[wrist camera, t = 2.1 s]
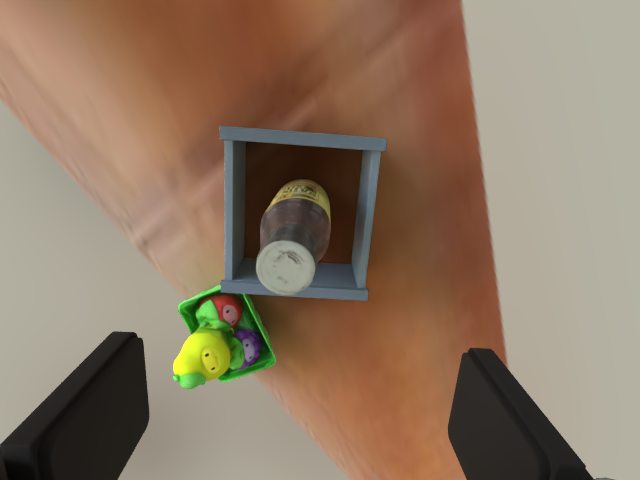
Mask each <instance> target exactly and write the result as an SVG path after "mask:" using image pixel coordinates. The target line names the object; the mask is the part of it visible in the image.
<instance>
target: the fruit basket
mask: <svg viewBox="0 0 640 480" xmlns="http://www.w3.org/2000/svg"><path fill="white" fill-rule="evenodd" d="M178 311H179V313H180V315H181V316H182V318H183V320H184V321H185V323H186V325H187V327H188V328H189V330H190V332H191V334H192V335H191V336H190V337H189V338H188V339H187V340H186V342H185V343H184V345H183V347H182V350H181V352H180V354H179V355H178V357H177V358H176V359H175V361H174V366H173V368H174V373H175V375H174V377H173V379H174V380H175V381H176V382H178V381H179V383H180V385H181V386H182V387H183V388H186V389H192V388H194V387H197V386H198V385H202V384H205V382H206V381H209V380H212V379H216V378H217V379H218V380H219V381H221V382H227V381H230V380H233V379H236V378H239V377H242V376H245V375H248V374H251V373H254V372H257V371H260V370H263V369H266V368H268V367H271V366H273V365H274V364H275V363H276V357H275V354H274V351H273V349H272V346H271V342H270V338H269V334H268V332H267V330H266V328H265V327H264V326H263V325H262V320H261V318H260V316H259V314H258V312H257V311H256V310H255V309H254V304H253V302H252V300H251V298H250V296H249V294H239V293H222V292H221V286H220V285H218V286H215V287H213V288H212V289H210V290H205V291H203V292H201V293H199V294H198V295H196V296H194V297H192V298H189V299H187V300H185V301H183V302H182V303H180V304H179V306H178Z"/></svg>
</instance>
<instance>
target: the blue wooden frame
mask: <svg viewBox="0 0 640 480" xmlns="http://www.w3.org/2000/svg"><path fill="white" fill-rule="evenodd" d="M220 139H222V140H225V280H221V282H220V286H221V292H222V293H239V294H256V295H273V296H291V297H308V298H325V299H342V300H359V301H367V300H368V293H369V291H368V289H367V288H365V284H366V276H367V267H368V259H369V250H370V242H371V233H372V225H373V217H374V208H375V200H376V191H377V183H378V174H379V166H380V157H381V151H383V152H385V151H386V144H387V138H378V137H365V136H351V135H338V134H325V133H312V132H299V131H286V130H273V129H259V128H246V127H233V126H220ZM246 141H248V142H262V143H275V144H289V145H302V146H316V147H329V148H342V149H356V150H363V154H362V164H361V173H360V183H359V192H358V202H357V212H356V221H355V231H354V240H353V250H352V260H351V264H340V263H324V262H317V269H316V273H315V277H314V279H313V281H312V283H311V284H310V286H309V287H308V288H307V289H305V290H303V291H301V292H299V293H297V294H295V295H280V294H276V293H274V292H271V291H270V290H268V289H267V288H266V287H264V286H263V284H262V283H261V282H260V280H259V279H258V276H257V272H256V260H257V258H244V241H245V174H246Z"/></svg>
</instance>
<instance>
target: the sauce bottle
mask: <svg viewBox="0 0 640 480" xmlns="http://www.w3.org/2000/svg"><path fill="white" fill-rule="evenodd" d="M330 233H331V223H330V202H329V198H328V196H327V194H326V192H325V190H324V189H323V188H322V187H321V186H320V185H319V184H317V183H315V182H314V181H313V180H307V179H297V180H293V181H291V182H289V183H287V184H285V185H284V186H283V187H282V188H281V189H280V190H279V192H278V193H277V195H276V196H275V198H274V199H273V201H272V202H271V204H270V206H269V207H268V208H267V210H266V211H265V213H264V215H263V217H262V220H261V225H260V251H259V253H258V256H257V260H256V272H257V276H258V279H259V280H260V282H261V283H262V284H263V286H264V287H266V288H267V289H268V290H270V291H271V292H274V293H276V294H280V295H295V294H297V293H299V292H301V291H303V290H305V289H307V288H308V287H309V286H310V284H311V283H312V281H313V279H314V277H315V273H316V269H317V262H318V261H320V259H321V258H322V257H323V256H324V254H325V252H326V250H327V248H328V246H329V240H330Z"/></svg>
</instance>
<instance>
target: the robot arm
mask: <svg viewBox="0 0 640 480" xmlns="http://www.w3.org/2000/svg"><path fill="white" fill-rule="evenodd" d="M148 421H149V404H148V393H147V381H146V369H145V358H144V346H143V340H142V338H138V337H137V334H136V333H134V332H112V333H111V334H110V335H109V336H108V337H107V338H106V339H105V340H104V341H103V342H102V343H101V344H100V345H99V346H98V347H97V348H96V349H95V350H94V351H93V352H92V353H91V354H90V355H89V356H88V357H87V358H86V359H85V360H84V361H83V362H82V363H81V364H80V365H79V366H78V367H77V368H76V369H75V370H74V371H73V372H72V373H71V374H70V375H69V376H68V377H67V378H66V379H65V380H64V381H63V382H62V383H61V384H60V385H59V386H58V387H57V388H56V389H55V390H54V391H53V392H52V393H51V394H50V395H49V396H48V397H47V398H46V399H45V400H44V401H43V402H42V403H41V404H40V405H39V406H38V407H37V408H36V409H35V410H34V411H33V412H32V413H31V414H30V415H29V416H28V417H27V418H26V420H24V421H23V422H22V424H20V425H19V426H18V427H17V428H16V429H15V430H14V431H13V432H12V433H11V434H10V435H9V436H8V437H7V438H6V439H5V440H4V441H3V442H2V443H1V444H0V480H118V478H119V476H120V474H121V472H122V471H123V469H124V467H125V465H126V463H127V461H128V460H129V458H130V456H131V455H132V453H133V451H134V449H135V447H136V446H137V444H138V442H139V440H140V439H141V437H142V435H143V433H144V431H145V430H146V427H147V425H148ZM448 435H449V439H450V442H451V444H452V446H453V449H454V451H455V453H456V456H457V458H458V460H459V463H460V465H461V467H462V469H463V472H464V474H465V476H466V479H467V480H614V479H609V478H596V479H593V478H592V477H591V475H590V474H589V473H588V471H587V470H586V469H585V467H586V466H585V464H584V463H583V462H582V461H581V459H580V458H579V457H578V456H577V454H575V452H574V451H573V450H572V448H571V447H570V446H569V445H568V443H567V442H566V441H565V440H564V438H563V437H562V436H561V435H560V433H559V432H558V431H557V430H556V429H555V427H554V426H553V425H552V423H551V422H550V421H549V420H548V418H547V417H546V416H545V415H544V413H543V412H542V411H541V410H540V409H539V407H538V406H537V405H536V404H535V402H534V401H533V400H532V399H531V397H530V396H529V395H528V394H527V393H526V391H525V390H524V389H523V387H522V386H521V385H520V384H519V383H518V381H517V380H516V379H515V378H514V376H513V375H512V374H511V372H510V371H509V370H508V369H507V368H506V366H505V365H504V364H503V363H502V361H501V360H500V359H499V358H498V356H497V355H496V354H495V353H494V351H493V350H491V349H483V348H470V349H469V350H468V353H463V355H462V358H461V363H460V368H459V373H458V378H457V383H456V389H455V394H454V399H453V404H452V409H451V414H450V419H449V424H448Z"/></svg>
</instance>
